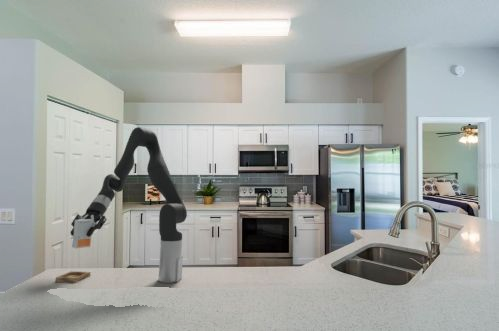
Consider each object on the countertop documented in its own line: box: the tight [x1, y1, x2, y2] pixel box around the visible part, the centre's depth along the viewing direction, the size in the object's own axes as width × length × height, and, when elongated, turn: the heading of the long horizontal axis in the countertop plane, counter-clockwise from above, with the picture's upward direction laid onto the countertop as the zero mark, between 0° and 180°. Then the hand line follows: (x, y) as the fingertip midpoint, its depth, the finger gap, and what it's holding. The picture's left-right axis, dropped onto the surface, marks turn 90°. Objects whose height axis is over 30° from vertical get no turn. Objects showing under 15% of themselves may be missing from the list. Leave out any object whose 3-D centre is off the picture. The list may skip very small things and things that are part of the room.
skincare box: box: [71, 219, 93, 250], centre depth 119 cm, size 6×4×12 cm
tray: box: [55, 270, 92, 284], centre depth 116 cm, size 9×9×2 cm
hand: (80, 235), depth 117 cm, fingers closed on skincare box, 6 cm apart
